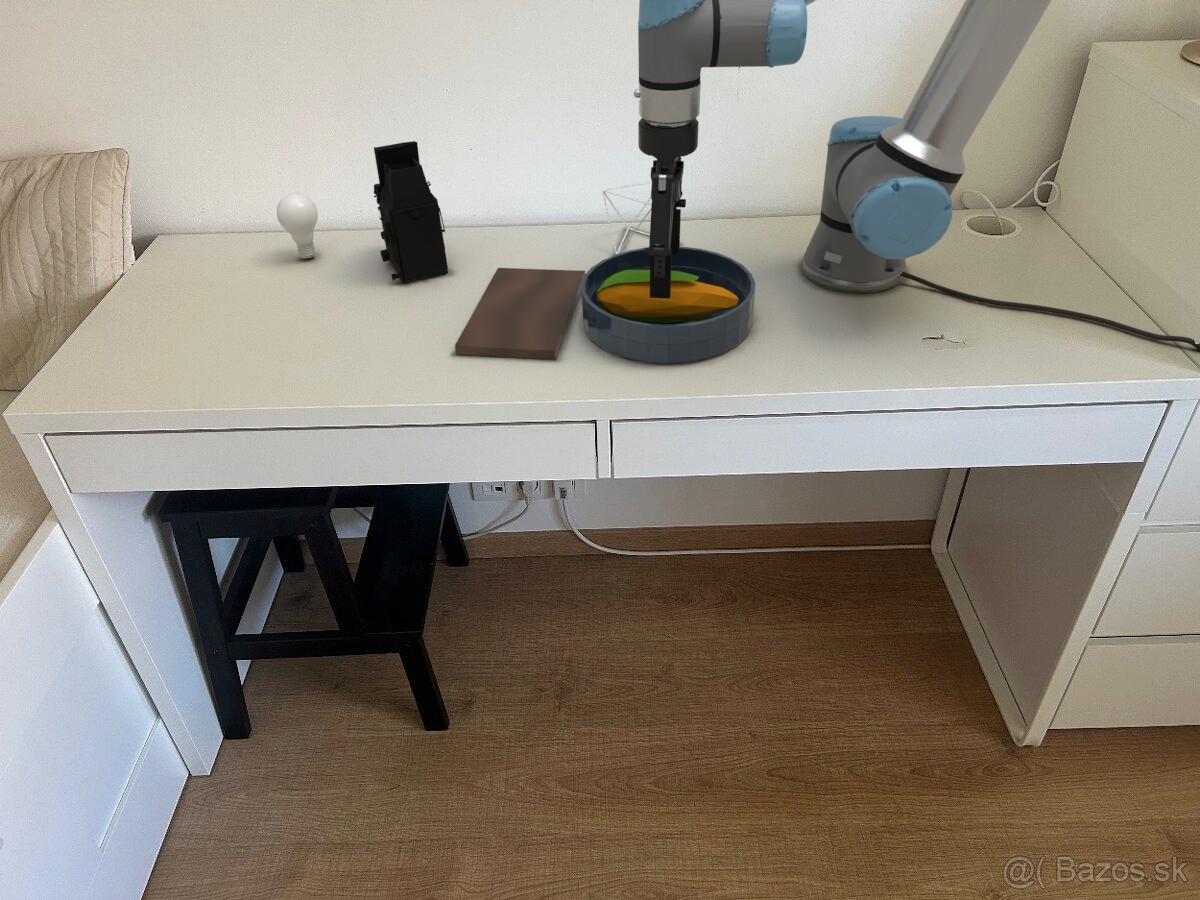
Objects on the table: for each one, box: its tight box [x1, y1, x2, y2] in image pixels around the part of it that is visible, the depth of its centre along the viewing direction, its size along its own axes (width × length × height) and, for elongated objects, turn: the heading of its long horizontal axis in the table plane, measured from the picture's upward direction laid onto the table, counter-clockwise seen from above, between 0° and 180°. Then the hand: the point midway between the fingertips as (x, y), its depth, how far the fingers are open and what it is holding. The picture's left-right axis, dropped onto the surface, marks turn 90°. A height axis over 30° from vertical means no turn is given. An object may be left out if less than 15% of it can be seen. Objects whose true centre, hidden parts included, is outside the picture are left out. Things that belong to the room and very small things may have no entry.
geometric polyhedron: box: [601, 180, 652, 255], centre depth 147 cm, size 12×11×9 cm
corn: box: [597, 268, 739, 323], centre depth 126 cm, size 7×8×20 cm
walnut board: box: [454, 267, 586, 361], centre depth 132 cm, size 14×24×2 cm, turn 171°
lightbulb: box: [276, 193, 319, 260], centre depth 147 cm, size 6×6×11 cm
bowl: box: [580, 246, 756, 364], centre depth 127 cm, size 24×24×6 cm
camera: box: [373, 140, 449, 284], centre depth 141 cm, size 10×14×20 cm
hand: (665, 274), depth 124 cm, fingers open, 13 cm apart
